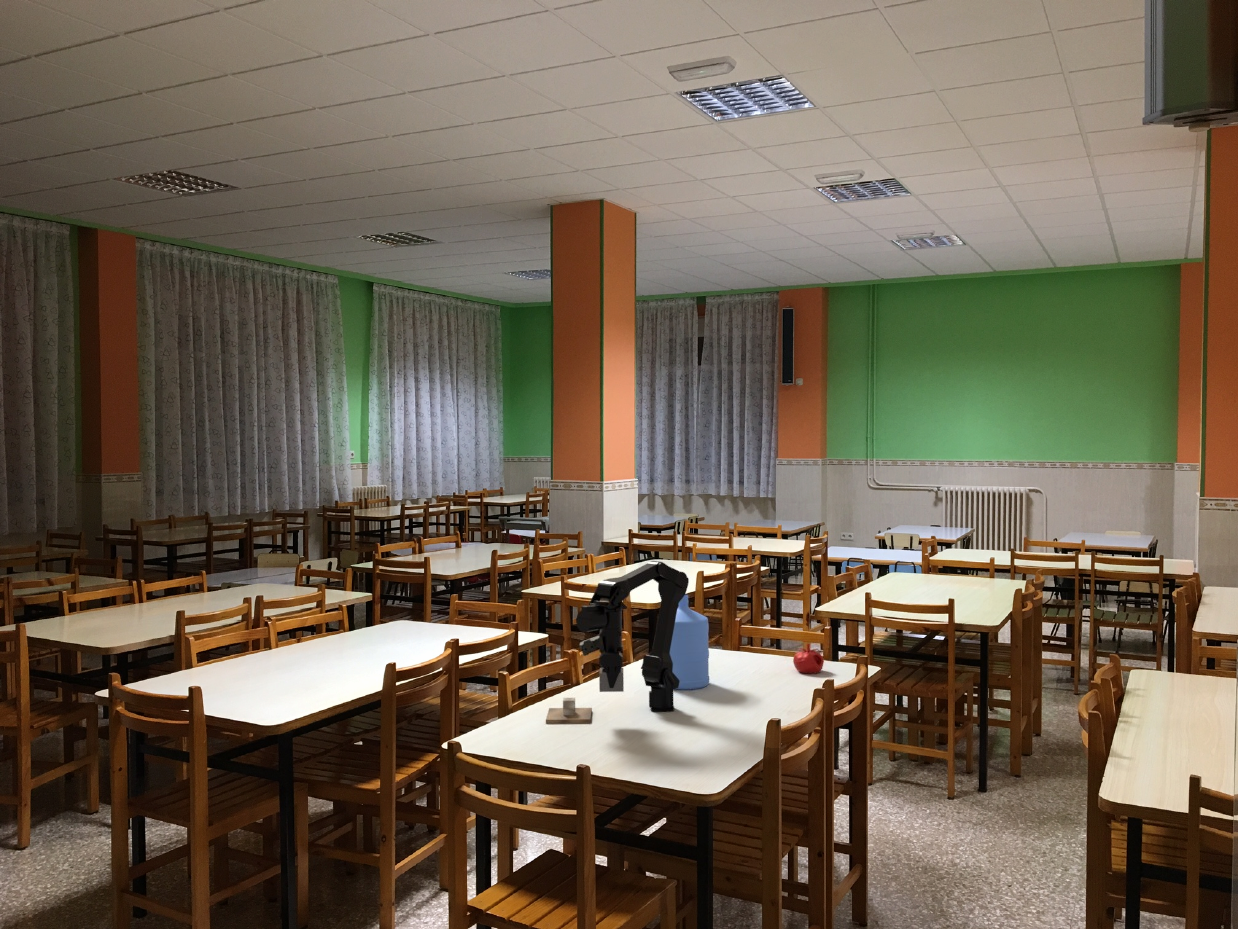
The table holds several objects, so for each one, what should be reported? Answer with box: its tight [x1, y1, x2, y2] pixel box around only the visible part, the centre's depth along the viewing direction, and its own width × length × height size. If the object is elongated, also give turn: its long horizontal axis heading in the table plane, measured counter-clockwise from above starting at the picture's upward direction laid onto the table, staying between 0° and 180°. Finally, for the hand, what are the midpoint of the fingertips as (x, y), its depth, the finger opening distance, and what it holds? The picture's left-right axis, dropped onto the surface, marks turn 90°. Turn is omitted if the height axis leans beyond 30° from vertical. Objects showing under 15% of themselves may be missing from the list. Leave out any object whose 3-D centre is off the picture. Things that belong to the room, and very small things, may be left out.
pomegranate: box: [792, 643, 825, 674], centre depth 321 cm, size 10×10×9 cm
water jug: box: [670, 594, 710, 691], centre depth 305 cm, size 16×16×28 cm
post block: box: [545, 697, 593, 724], centre depth 269 cm, size 12×12×5 cm
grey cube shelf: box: [598, 667, 625, 693], centre depth 262 cm, size 6×6×5 cm
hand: (611, 685), depth 262 cm, fingers closed on grey cube shelf, 6 cm apart
